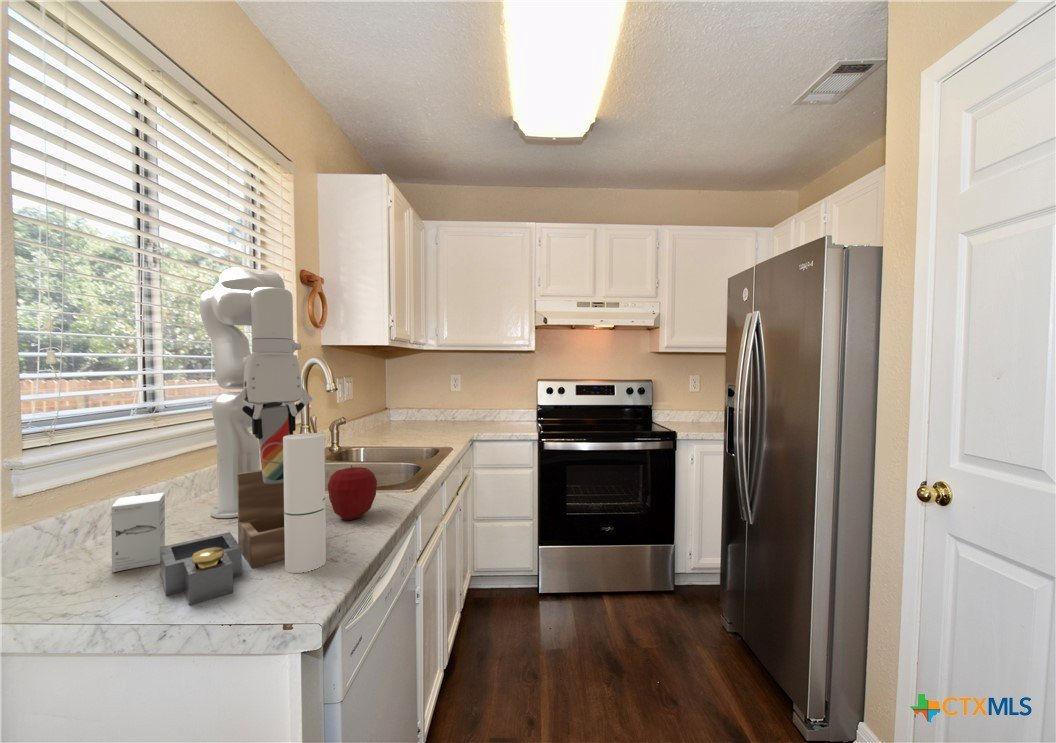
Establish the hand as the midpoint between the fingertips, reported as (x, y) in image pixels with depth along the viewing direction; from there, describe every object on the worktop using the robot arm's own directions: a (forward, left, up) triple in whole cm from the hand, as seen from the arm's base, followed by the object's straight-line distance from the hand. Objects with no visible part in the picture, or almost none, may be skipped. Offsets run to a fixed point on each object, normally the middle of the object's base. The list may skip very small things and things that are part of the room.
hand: (274, 435), depth 94 cm
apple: (-10, +20, -24) cm, 33 cm away
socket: (+5, -13, -24) cm, 28 cm away
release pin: (+11, -13, -23) cm, 29 cm away
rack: (0, 0, -24) cm, 24 cm away
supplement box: (-13, -21, -24) cm, 35 cm away
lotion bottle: (0, +1, -10) cm, 10 cm away
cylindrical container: (+11, +3, -24) cm, 27 cm away
